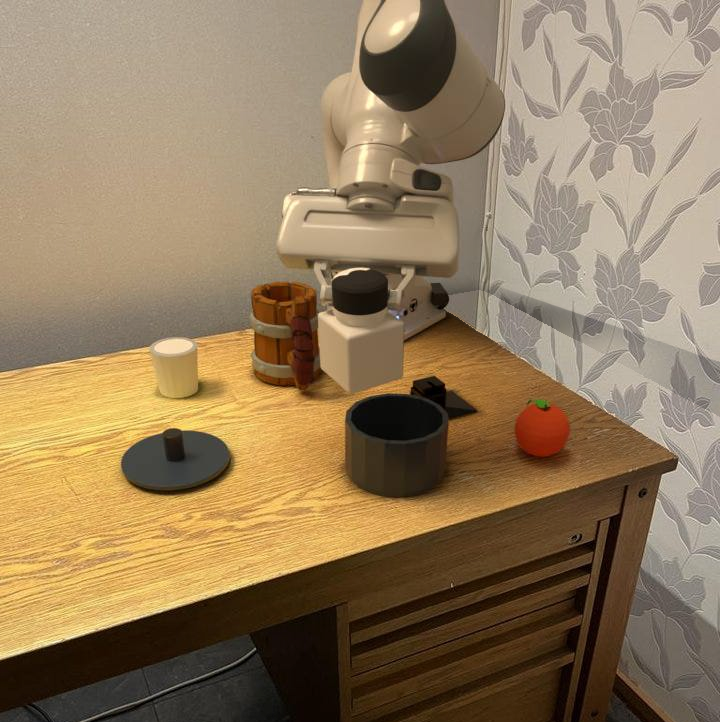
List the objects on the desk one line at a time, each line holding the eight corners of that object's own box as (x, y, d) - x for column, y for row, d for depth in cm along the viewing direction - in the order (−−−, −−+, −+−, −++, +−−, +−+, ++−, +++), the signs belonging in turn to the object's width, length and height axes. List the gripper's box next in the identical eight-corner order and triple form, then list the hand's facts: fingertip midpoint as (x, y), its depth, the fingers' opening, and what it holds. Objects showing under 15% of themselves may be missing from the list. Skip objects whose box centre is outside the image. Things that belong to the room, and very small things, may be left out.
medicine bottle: (404, 379, 91) (406, 278, 83) (349, 396, 88) (346, 294, 81) (372, 353, 96) (371, 256, 88) (319, 368, 93) (314, 270, 85)
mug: (310, 351, 130) (307, 261, 122) (343, 396, 117) (342, 297, 109) (245, 361, 127) (237, 268, 118) (272, 407, 114) (265, 307, 106)
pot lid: (194, 427, 109) (190, 397, 106) (250, 467, 101) (248, 435, 98) (103, 462, 102) (96, 430, 99) (156, 508, 93) (150, 474, 91)
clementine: (498, 440, 107) (504, 392, 103) (544, 432, 108) (552, 385, 105) (527, 471, 100) (534, 421, 96) (575, 461, 102) (584, 413, 98)
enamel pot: (396, 434, 108) (398, 384, 104) (464, 471, 100) (469, 419, 96) (325, 466, 101) (324, 414, 97) (393, 509, 93) (395, 455, 89)
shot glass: (197, 400, 116) (192, 356, 112) (150, 399, 116) (143, 355, 112) (206, 379, 121) (201, 336, 117) (161, 378, 121) (155, 335, 118)
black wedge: (401, 432, 108) (402, 402, 106) (376, 409, 114) (376, 380, 111) (477, 412, 113) (480, 382, 110) (450, 391, 118) (452, 362, 116)
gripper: (279, 171, 88) (261, 287, 85) (466, 178, 85) (453, 300, 82) (291, 202, 94) (274, 312, 91) (466, 210, 91) (453, 324, 88)
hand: (360, 306), depth 87 cm, fingers closed on medicine bottle, 6 cm apart
